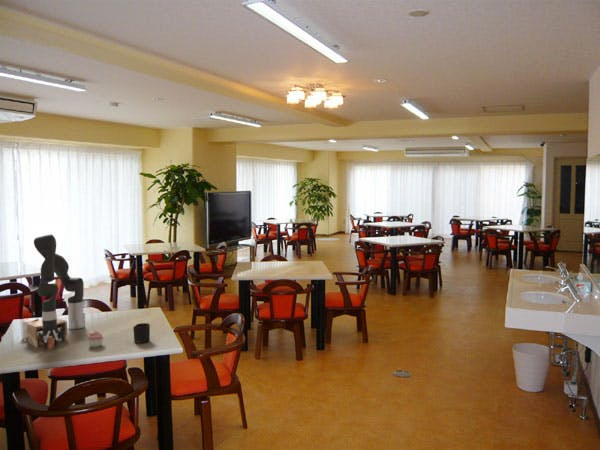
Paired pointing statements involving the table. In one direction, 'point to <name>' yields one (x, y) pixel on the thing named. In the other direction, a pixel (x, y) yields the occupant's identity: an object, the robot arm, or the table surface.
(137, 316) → the table surface
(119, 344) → the table surface
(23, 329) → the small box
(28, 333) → the oak shelf
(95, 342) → the cupcake
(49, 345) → the tethered block
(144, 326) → the pen holder
